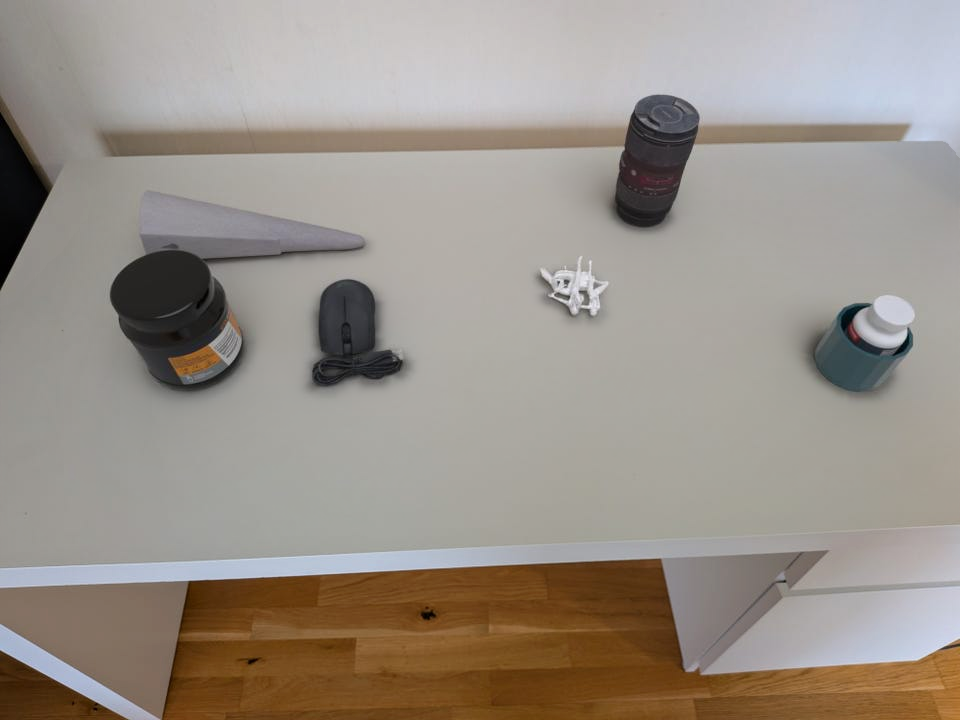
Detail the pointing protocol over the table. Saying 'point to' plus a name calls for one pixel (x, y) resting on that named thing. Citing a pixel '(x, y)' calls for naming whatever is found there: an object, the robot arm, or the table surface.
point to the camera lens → (654, 158)
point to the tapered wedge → (229, 230)
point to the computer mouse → (350, 334)
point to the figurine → (576, 287)
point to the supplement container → (177, 319)
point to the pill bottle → (881, 326)
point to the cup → (855, 356)
